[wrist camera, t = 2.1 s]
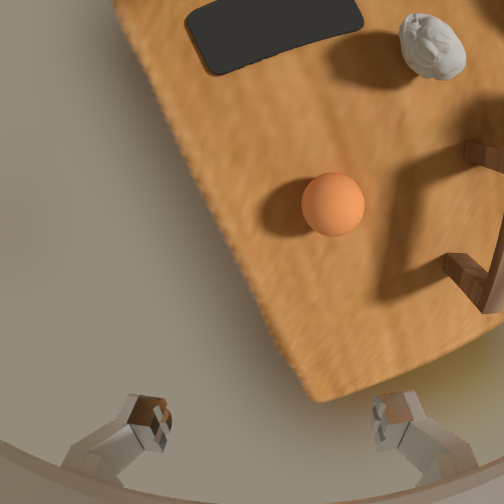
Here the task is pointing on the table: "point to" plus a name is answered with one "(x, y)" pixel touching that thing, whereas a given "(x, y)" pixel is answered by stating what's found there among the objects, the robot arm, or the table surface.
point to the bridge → (500, 273)
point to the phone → (266, 28)
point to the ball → (332, 204)
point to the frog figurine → (431, 47)
